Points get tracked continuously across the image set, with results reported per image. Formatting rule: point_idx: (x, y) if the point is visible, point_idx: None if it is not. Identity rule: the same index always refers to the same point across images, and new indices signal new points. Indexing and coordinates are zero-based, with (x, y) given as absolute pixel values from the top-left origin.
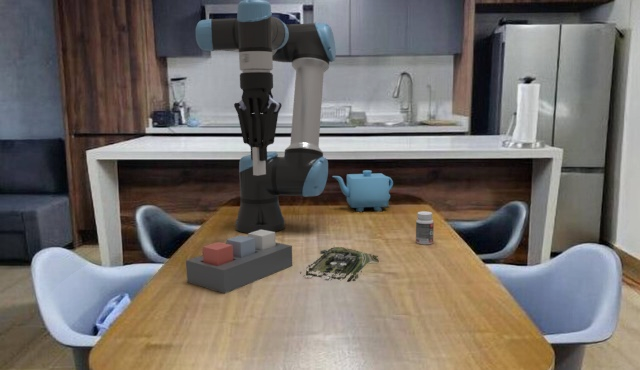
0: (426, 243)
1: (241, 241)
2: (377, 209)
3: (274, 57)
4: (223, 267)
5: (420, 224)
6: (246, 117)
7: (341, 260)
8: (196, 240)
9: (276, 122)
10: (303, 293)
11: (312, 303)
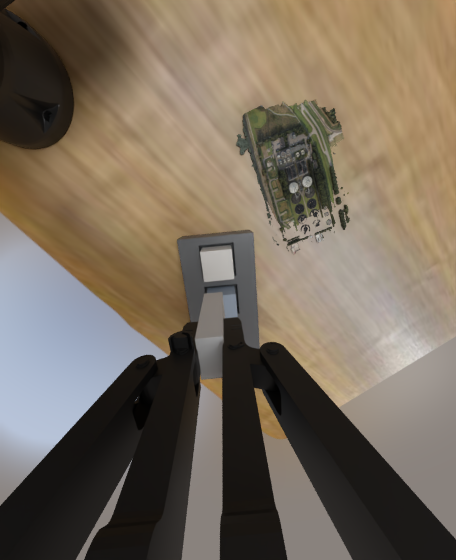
0: None
1: (234, 316)
2: None
3: None
4: (251, 345)
5: None
6: (44, 550)
7: (294, 167)
8: (37, 238)
9: (368, 445)
10: (320, 287)
11: (343, 300)
